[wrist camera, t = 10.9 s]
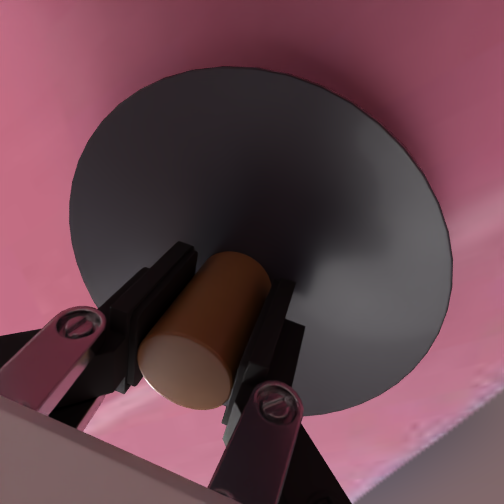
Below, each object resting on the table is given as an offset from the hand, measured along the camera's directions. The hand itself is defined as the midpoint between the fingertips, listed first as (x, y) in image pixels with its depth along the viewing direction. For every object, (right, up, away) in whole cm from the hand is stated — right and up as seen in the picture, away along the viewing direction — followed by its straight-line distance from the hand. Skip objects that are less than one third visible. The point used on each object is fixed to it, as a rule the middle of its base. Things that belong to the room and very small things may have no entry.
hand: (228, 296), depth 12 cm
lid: (0, +1, +1) cm, 1 cm away
